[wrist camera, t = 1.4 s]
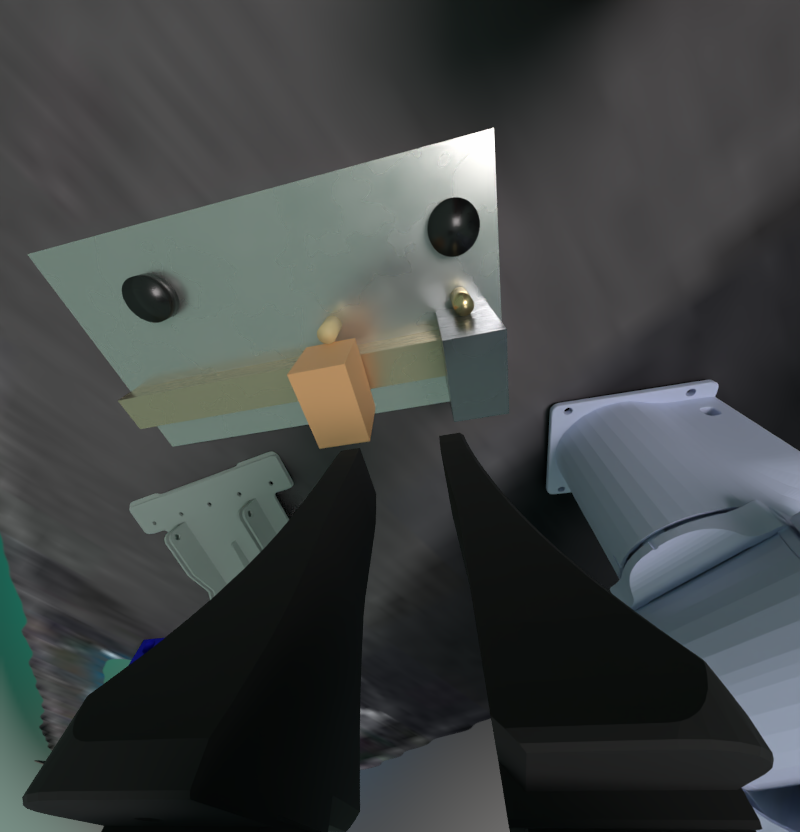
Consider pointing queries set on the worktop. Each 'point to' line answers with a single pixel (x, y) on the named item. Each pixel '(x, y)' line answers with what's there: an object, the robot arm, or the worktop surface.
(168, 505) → the metal bracket
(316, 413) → the block
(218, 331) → the plate
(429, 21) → the worktop surface
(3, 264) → the worktop surface
